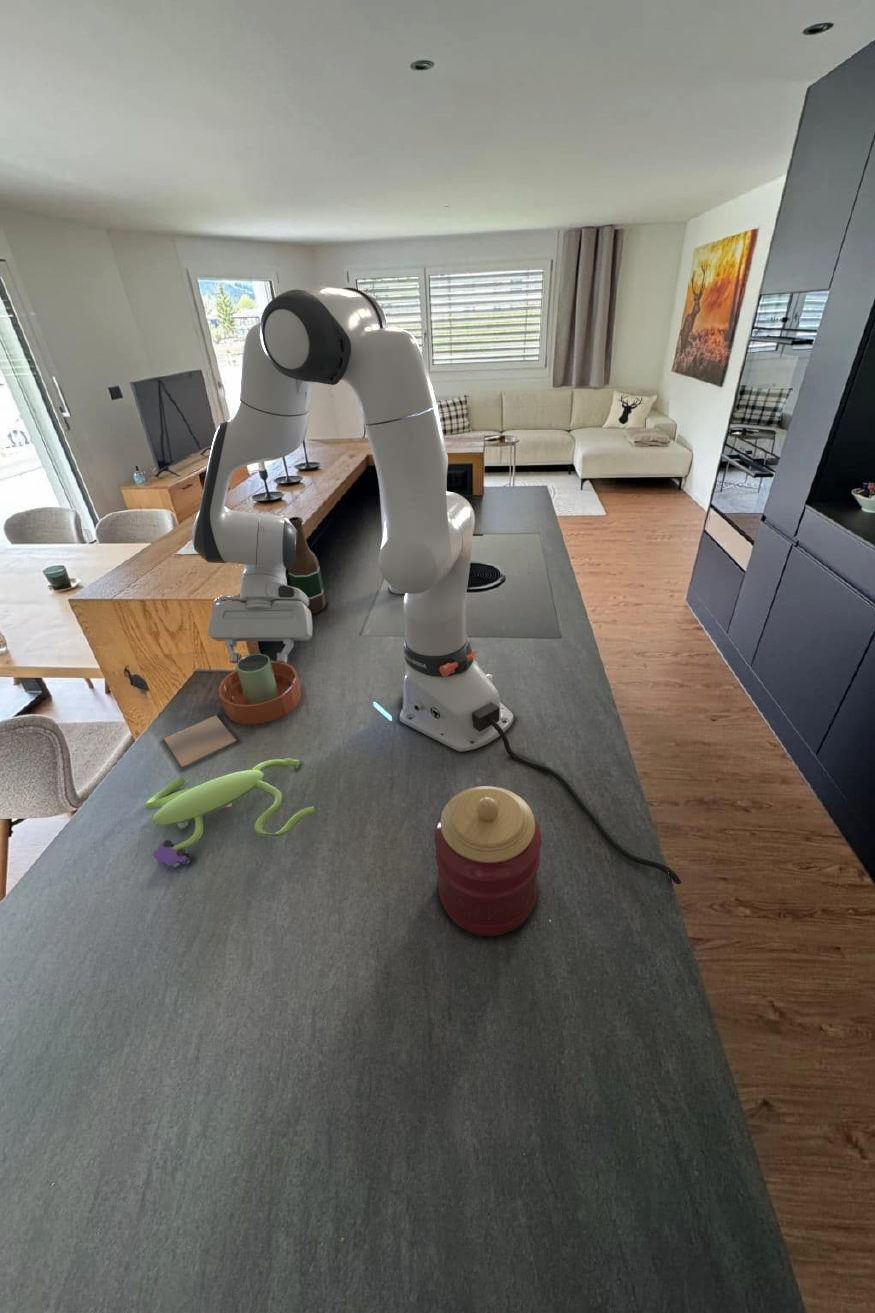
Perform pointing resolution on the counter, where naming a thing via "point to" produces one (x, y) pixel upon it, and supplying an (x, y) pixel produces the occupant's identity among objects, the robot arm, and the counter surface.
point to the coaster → (199, 740)
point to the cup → (257, 679)
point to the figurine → (214, 806)
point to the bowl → (264, 711)
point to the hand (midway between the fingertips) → (258, 662)
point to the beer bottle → (306, 571)
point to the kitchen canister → (487, 860)
